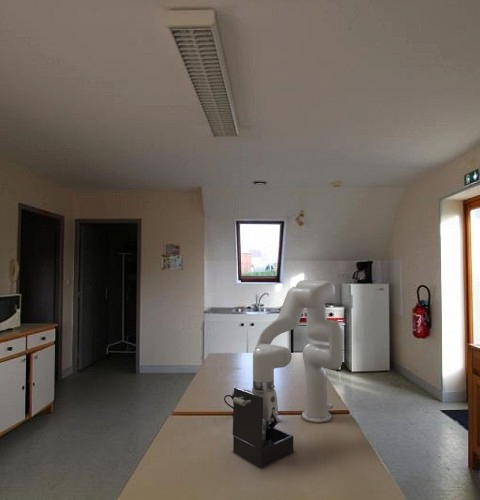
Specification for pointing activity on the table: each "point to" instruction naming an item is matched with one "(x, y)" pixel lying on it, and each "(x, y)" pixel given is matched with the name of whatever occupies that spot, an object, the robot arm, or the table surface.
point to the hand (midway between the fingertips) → (263, 435)
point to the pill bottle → (264, 436)
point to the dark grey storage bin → (265, 449)
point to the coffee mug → (233, 397)
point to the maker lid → (248, 417)
